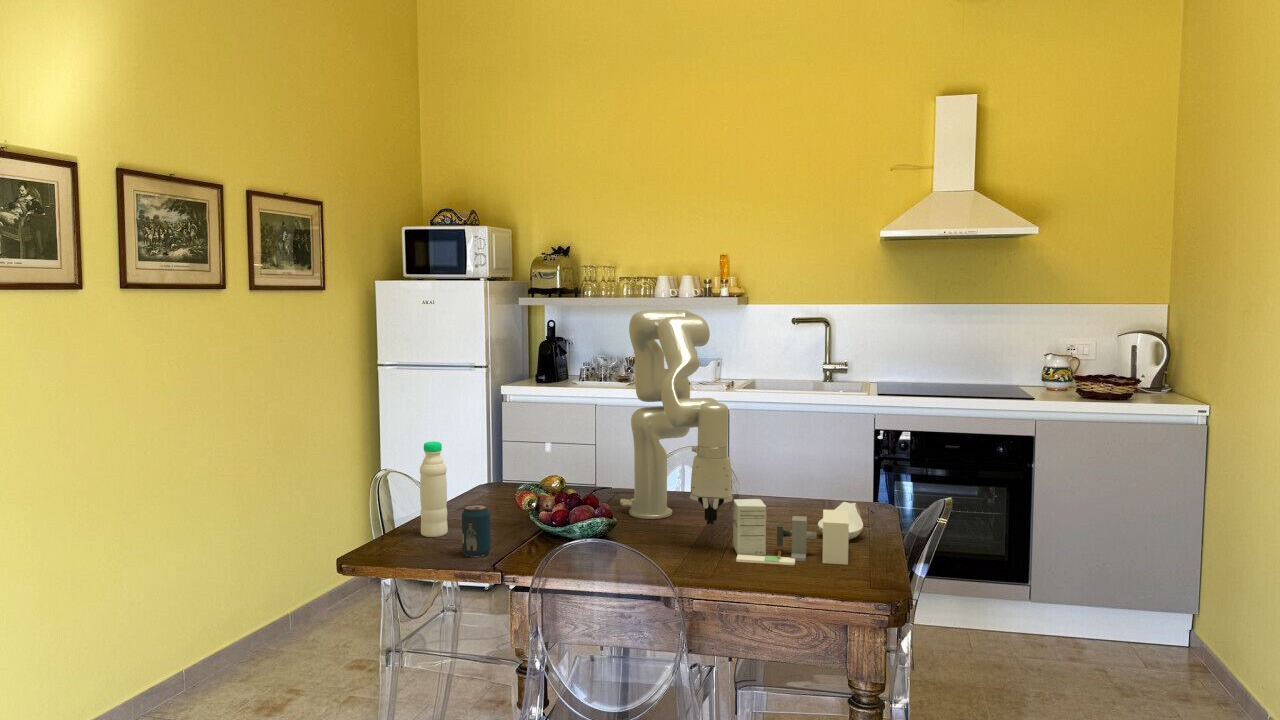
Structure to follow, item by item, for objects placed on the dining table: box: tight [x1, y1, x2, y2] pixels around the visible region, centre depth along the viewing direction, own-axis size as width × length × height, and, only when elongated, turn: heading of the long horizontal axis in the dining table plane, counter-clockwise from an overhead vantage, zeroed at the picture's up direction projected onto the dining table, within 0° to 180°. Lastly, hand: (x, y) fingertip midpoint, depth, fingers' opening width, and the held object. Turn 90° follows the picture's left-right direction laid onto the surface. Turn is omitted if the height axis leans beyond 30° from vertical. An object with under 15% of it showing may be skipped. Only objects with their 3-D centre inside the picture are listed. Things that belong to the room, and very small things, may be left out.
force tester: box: [735, 509, 849, 566], centre depth 226 cm, size 26×16×10 cm, turn 78°
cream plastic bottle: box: [419, 440, 449, 538], centre depth 244 cm, size 7×7×25 cm
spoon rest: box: [817, 501, 864, 541], centre depth 248 cm, size 24×12×7 cm, turn 157°
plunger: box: [776, 520, 817, 558], centre depth 225 cm, size 10×10×6 cm
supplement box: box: [732, 498, 767, 556], centre depth 229 cm, size 7×7×13 cm
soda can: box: [461, 503, 492, 557], centre depth 227 cm, size 7×7×12 cm
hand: (710, 522), depth 232 cm, fingers closed
